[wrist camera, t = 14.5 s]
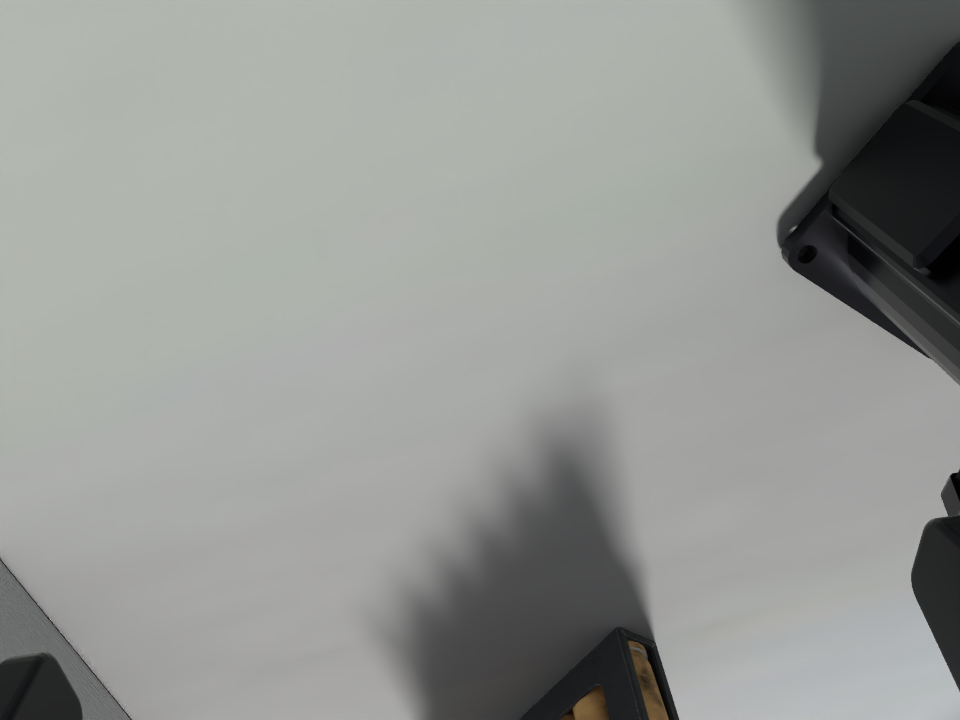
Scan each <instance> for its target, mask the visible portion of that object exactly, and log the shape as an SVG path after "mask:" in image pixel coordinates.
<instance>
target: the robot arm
mask: <svg viewBox="0 0 960 720" xmlns="http://www.w3.org/2000/svg"><path fill="white" fill-rule="evenodd" d="M808 245H810V248H809V250H808V252H807V253H806V254H804V255H803V256H799V257H798V253H799V251H800V249H802V248H803V247H804V246H808ZM781 253H782V257H783V259H784V260H785V261H786V262H787V264H788V265H789V266H790V267H791V268H792V269H793V270H795V271H796V272H798V273H799V274H801V275H802V276H804V277H805V278H807V279H808V280H810V281H811V282H813V283H814V284H816V285H818V286H819V287H821V288H822V289H824V290H825V291H827V292H828V293H830V294H831V295H833V296H834V297H836V298H837V299H839V300H840V301H842V302H844V303H845V304H847V305H848V306H850V307H851V308H853V309H854V310H856V311H857V312H859V313H860V314H862V315H863V316H865V317H866V318H868V319H870V320H871V321H873V322H874V323H876V324H877V325H879V326H880V327H882V328H883V329H885V330H886V331H888V332H889V333H891V334H893V335H894V336H896V337H897V338H899V339H900V340H902V341H903V342H905V343H906V344H908V345H909V346H911V347H912V348H914V349H915V350H917V351H919V352H920V353H922V354H923V355H925V356H926V357H928V358H930V359H932V360H933V361H934V362H935V363H936V364H938V365H939V366H940V367H941V368H942V369H943V370H944V371H945V372H946V373H947V374H948V375H949V376H950V377H951V378H952V379H953V380H954V381H956V382H957V383H958V384H959V385H960V42H959V43H957V44H956V45H955V46H954V47H953V48H952V49H951V50H950V51H949V53H948V54H947V55H946V56H945V57H944V58H943V59H942V61H941V62H940V63H939V64H938V65H937V66H936V68H935V69H934V70H933V71H932V72H931V73H930V74H929V76H928V77H927V78H926V79H925V80H924V81H923V83H922V84H921V85H920V86H919V87H918V88H917V89H916V91H915V92H914V93H913V94H912V95H911V96H910V97H909V99H908V100H907V101H906V102H905V103H904V104H902V105H901V106H900V107H899V108H898V109H897V110H896V111H895V112H894V114H893V115H892V116H891V117H890V118H889V119H888V120H887V122H886V123H885V124H884V125H883V126H882V127H881V129H880V130H879V131H878V132H877V133H876V134H875V135H874V137H873V138H872V139H871V140H870V141H869V142H868V144H867V145H866V146H865V147H864V148H863V149H862V150H861V152H860V153H859V154H858V155H857V156H856V157H855V159H854V160H853V161H852V162H851V163H850V164H849V165H848V167H847V168H846V169H845V170H844V171H843V172H842V174H841V175H840V176H839V177H838V178H837V179H836V180H835V182H834V183H833V184H832V185H831V187H830V190H829V191H828V192H827V193H826V194H825V195H824V197H823V198H822V199H821V200H820V201H819V202H818V203H817V205H816V206H815V207H814V208H813V209H812V210H811V212H810V213H809V214H808V215H807V216H806V217H805V218H804V220H803V221H802V222H801V223H800V224H799V225H798V226H797V228H796V229H795V230H794V231H793V232H792V233H791V235H790V236H789V237H788V238H787V239H786V241H785V243H784V244H783V247H782V252H781ZM941 497H942V500H943V503H944V506H945V508H946V511H947V514H948V516H949V517H942V518H935V519H932V520H930V521H929V522H928V523H927V524H926V525H925V527H924V529H923V533H922V536H921V540H920V543H919V547H918V550H917V554H916V557H915V561H914V564H913V568H912V573H911V582H912V588H913V591H914V594H915V597H916V599H917V601H918V603H919V606H920V608H921V610H922V612H923V614H924V616H925V618H926V621H927V623H928V625H929V627H930V629H931V631H932V633H933V635H934V638H935V640H936V642H937V644H938V646H939V648H940V650H941V652H942V655H943V657H944V659H945V661H946V663H947V665H948V667H949V669H950V672H951V674H952V676H953V678H954V680H955V682H956V684H957V687H958V689H959V691H960V469H959V471H958V473H952V474H951V475H950V477H949V479H948V481H947V483H946V484H945V486H944V488H943V490H942V492H941ZM0 720H83V713H82V706H81V703H80V700H79V698H78V696H77V694H76V692H75V690H74V689H73V687H72V685H71V683H70V682H69V680H68V678H67V676H66V675H65V673H64V671H63V669H62V667H61V666H60V664H59V662H58V660H57V659H56V658H55V656H53V655H52V654H50V653H48V652H39V653H32V654H26V655H19V656H13V657H10V658H7V659H5V660H4V661H2V662H1V663H0Z"/></svg>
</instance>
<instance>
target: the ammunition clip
mask: <svg viewBox="0 0 960 720" xmlns="http://www.w3.org/2000/svg"><path fill="white" fill-rule="evenodd" d="M519 720H679V717H678V714H677V711H676V708H675V704H674V701H673V698H672V695H671V691H670V688H669V685H668V682H667V679H666V675H665V672H664V669H663V666H662V662H661V659H660V656H659V653H658V649H657V646H656V643H654V642H652V641H649V640H647V639H645V638H642V637H640V636H637V635H635V634H632V633H630V632H628V631H625V630H623V629H618V628H615V629H614V630H613V631H612V632H611V633H610V634H609V635H608V636H607V637H606V638H605V639H604V640H603V641H602V642H601V643H600V644H598V645H597V646H596V647H595V648H594V649H593V650H592V651H591V652H590V653H589V654H588V655H587V656H586V657H585V658H584V659H583V660H582V661H581V662H579V663H578V664H577V665H576V666H575V667H574V668H573V669H572V670H571V671H570V672H569V673H568V674H567V675H566V676H565V677H564V678H563V679H562V680H560V681H559V682H558V683H557V684H556V685H555V686H554V687H553V688H552V689H551V690H550V691H549V692H548V693H547V694H546V695H545V696H544V697H543V698H541V699H540V700H539V701H538V702H537V703H536V704H535V705H534V706H533V707H532V708H531V709H530V710H529V711H528V712H527V713H526V714H525V715H524V716H522V717H521V718H520V719H519Z"/></svg>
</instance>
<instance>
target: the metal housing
mask: <svg viewBox="0 0 960 720" xmlns="http://www.w3.org/2000/svg"><path fill="white" fill-rule="evenodd" d="M39 652H48V653H50V654H52V655H53V656H55V658H56V659H57V660H58V662H59V664H60V666H61V667H62V669H63V671H64V673H65V675H66V676H67V678H68V680H69V682H70V683H71V685H72V687H73V689H74V690H75V692H76V694H77V696H78V698H79V700H80V703H81V706H82V713H83V720H130V718H129V717H128V716H127V715H126V713H125V712H124V711H123V710H122V709H121V707H120V706H119V705H118V704H117V702H116V701H115V700H114V699H113V698H112V696H111V695H110V694H109V693H108V691H107V690H106V689H105V688H104V687H103V685H102V684H101V683H100V682H99V680H98V679H97V678H96V677H95V676H94V674H93V673H92V672H91V671H90V669H89V668H88V667H87V666H86V665H85V663H84V662H83V661H82V660H81V658H80V657H79V656H78V655H77V654H76V652H75V651H74V650H73V649H72V647H71V646H70V645H69V644H68V643H67V641H66V640H65V639H64V638H63V636H62V635H61V634H60V633H59V632H58V630H57V629H56V628H55V627H54V625H53V624H52V623H51V622H50V621H49V619H48V618H47V617H46V616H45V614H44V613H43V612H42V611H41V610H40V608H39V607H38V606H37V605H36V603H35V602H34V601H33V600H32V599H31V597H30V596H29V595H28V594H27V592H26V591H25V590H24V589H23V588H22V586H21V585H20V584H19V583H18V581H17V580H16V579H15V578H14V577H13V575H12V574H11V573H10V572H9V570H8V569H7V568H6V567H5V566H4V564H3V563H2V562H1V561H0V663H1V662H2V661H4V660H5V659H7V658H10V657H13V656H19V655H26V654H32V653H39Z"/></svg>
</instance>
